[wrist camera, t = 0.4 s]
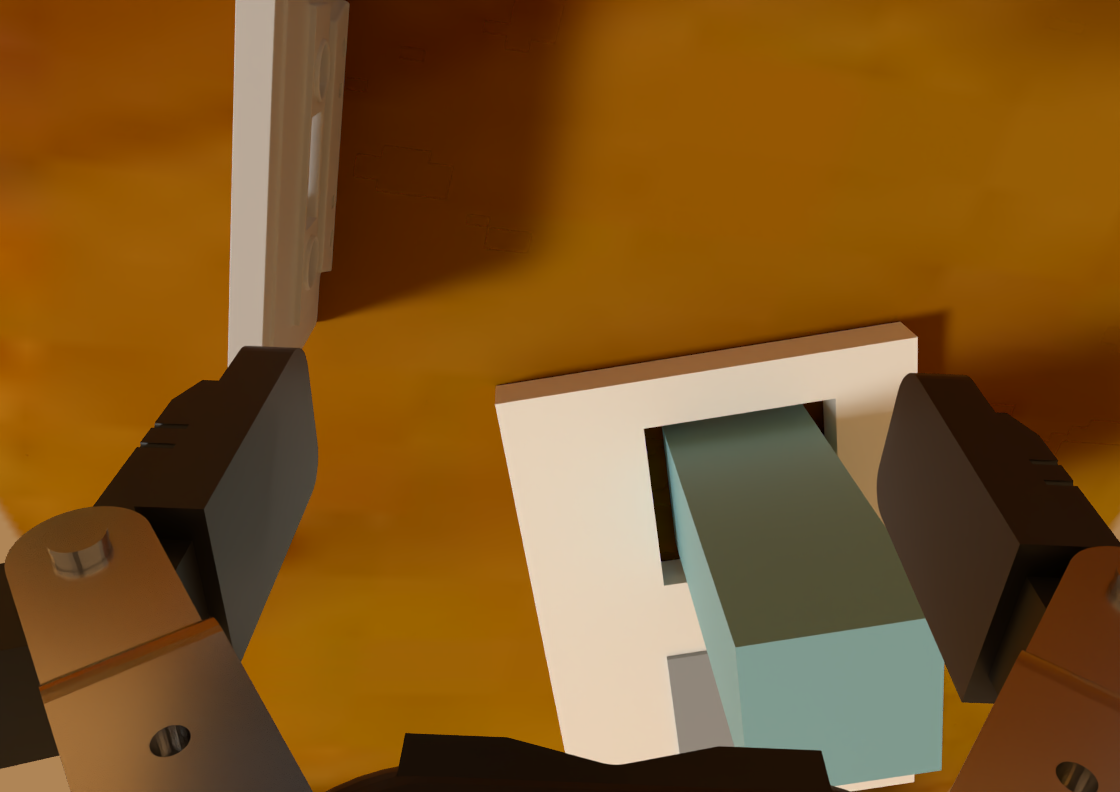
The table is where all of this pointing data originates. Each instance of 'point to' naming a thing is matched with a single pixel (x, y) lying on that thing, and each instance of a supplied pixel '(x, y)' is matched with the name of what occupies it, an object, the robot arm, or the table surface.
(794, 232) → the table surface
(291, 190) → the cassette
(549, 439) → the puzzle board
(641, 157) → the table surface
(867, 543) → the teal block
